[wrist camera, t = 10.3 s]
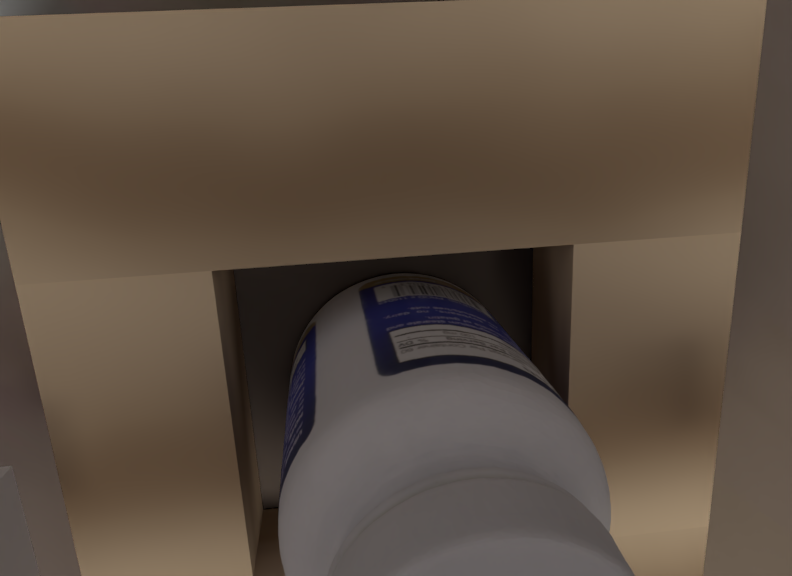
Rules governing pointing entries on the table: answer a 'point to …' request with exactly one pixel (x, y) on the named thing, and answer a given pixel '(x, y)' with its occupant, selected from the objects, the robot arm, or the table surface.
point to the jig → (370, 232)
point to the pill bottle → (433, 447)
